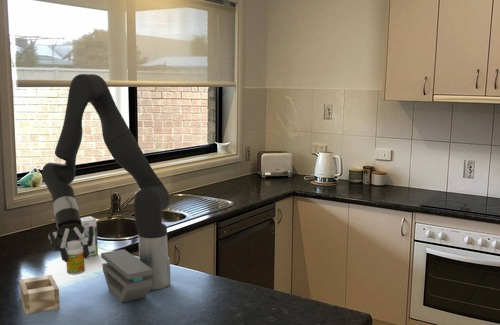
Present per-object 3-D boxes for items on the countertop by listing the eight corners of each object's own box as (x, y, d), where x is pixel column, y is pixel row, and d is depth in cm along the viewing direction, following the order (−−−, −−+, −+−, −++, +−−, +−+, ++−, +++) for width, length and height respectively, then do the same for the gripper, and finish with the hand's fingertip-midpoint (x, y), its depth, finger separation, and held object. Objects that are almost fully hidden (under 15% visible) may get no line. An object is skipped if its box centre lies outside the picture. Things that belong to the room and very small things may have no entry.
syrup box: (84, 257, 213) (82, 220, 211) (78, 254, 218) (76, 218, 216) (98, 254, 217) (96, 218, 215) (91, 251, 221) (89, 215, 219)
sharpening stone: (154, 304, 167) (153, 269, 165) (129, 309, 163) (127, 274, 161) (125, 280, 188) (124, 249, 186) (102, 284, 184) (101, 253, 182)
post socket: (52, 292, 177) (51, 274, 176) (59, 308, 164) (58, 288, 164) (20, 298, 172) (19, 279, 171) (25, 314, 160) (24, 294, 159)
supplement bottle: (67, 276, 169) (65, 245, 168) (66, 270, 174) (64, 241, 172) (86, 273, 171) (84, 243, 170) (84, 268, 176) (82, 238, 175)
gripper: (44, 210, 173) (52, 257, 164) (90, 204, 180) (101, 249, 171) (43, 223, 178) (51, 269, 170) (88, 217, 185) (98, 261, 176)
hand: (76, 259), depth 170 cm, fingers closed on supplement bottle, 5 cm apart
